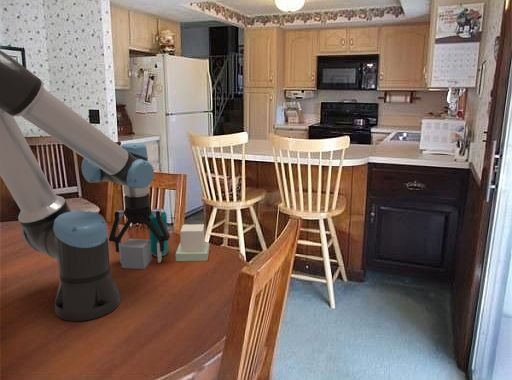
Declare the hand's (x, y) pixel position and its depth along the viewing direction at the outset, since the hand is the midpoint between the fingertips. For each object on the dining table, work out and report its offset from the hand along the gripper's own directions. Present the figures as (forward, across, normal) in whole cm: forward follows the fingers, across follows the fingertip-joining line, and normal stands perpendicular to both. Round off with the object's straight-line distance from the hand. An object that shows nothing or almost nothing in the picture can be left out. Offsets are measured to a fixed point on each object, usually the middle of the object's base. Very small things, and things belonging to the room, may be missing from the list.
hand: (141, 261), depth 133 cm
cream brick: (-2, -16, -5) cm, 17 cm away
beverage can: (0, -5, -6) cm, 8 cm away
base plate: (0, -16, -5) cm, 17 cm away
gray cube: (0, +1, +2) cm, 2 cm away
